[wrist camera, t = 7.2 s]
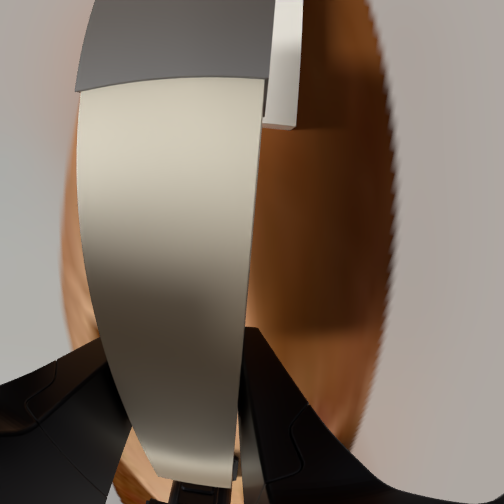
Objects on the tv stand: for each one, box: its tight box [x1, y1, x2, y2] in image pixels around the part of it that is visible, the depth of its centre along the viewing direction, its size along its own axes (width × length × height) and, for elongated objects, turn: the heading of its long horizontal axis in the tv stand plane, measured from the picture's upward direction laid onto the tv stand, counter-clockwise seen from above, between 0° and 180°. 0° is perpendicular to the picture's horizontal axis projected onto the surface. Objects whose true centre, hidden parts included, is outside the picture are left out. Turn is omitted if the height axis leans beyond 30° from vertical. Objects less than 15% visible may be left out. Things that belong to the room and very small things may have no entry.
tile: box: [262, 0, 303, 130], centre depth 9 cm, size 2×5×8 cm
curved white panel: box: [75, 0, 275, 488], centre depth 6 cm, size 14×3×4 cm, turn 175°
